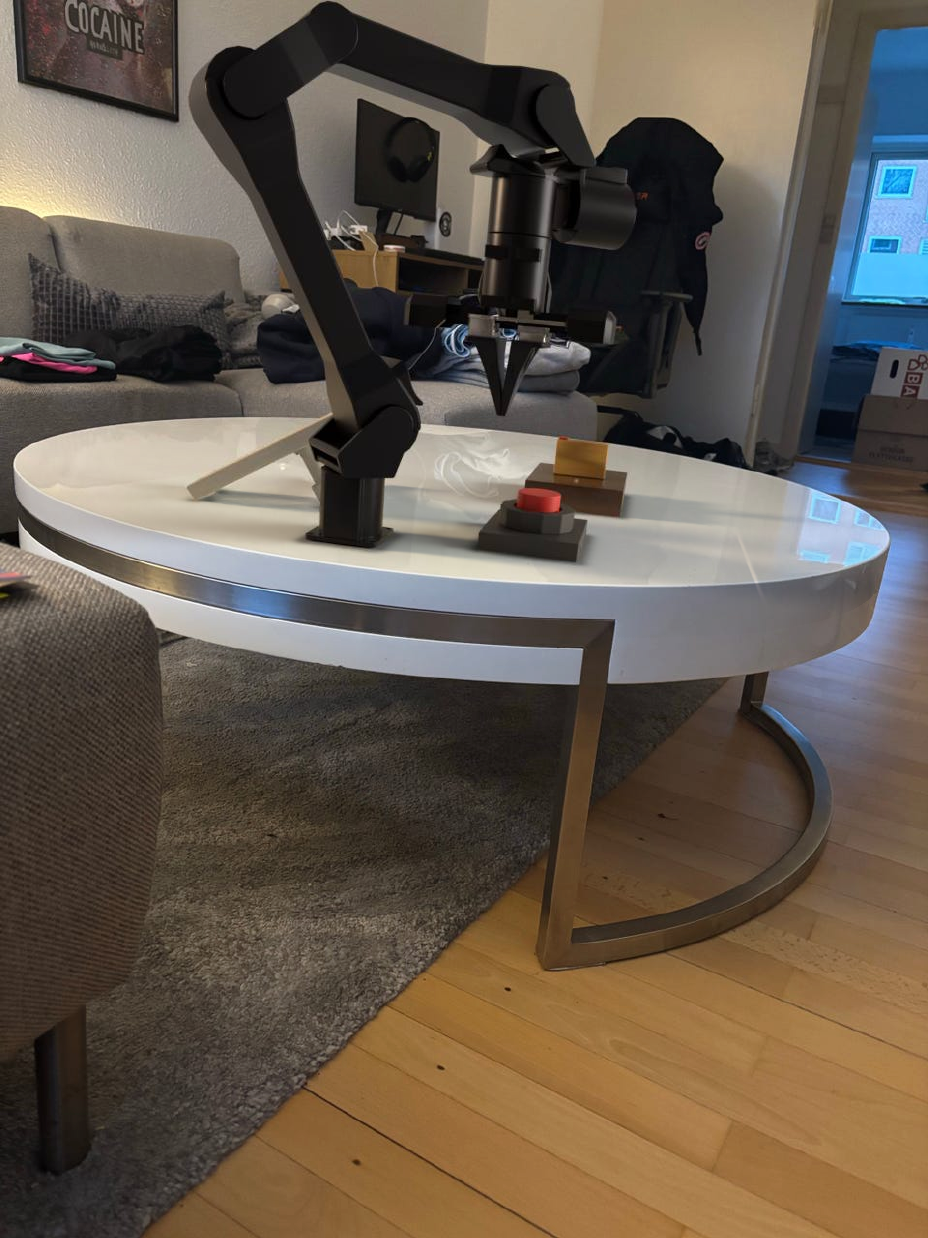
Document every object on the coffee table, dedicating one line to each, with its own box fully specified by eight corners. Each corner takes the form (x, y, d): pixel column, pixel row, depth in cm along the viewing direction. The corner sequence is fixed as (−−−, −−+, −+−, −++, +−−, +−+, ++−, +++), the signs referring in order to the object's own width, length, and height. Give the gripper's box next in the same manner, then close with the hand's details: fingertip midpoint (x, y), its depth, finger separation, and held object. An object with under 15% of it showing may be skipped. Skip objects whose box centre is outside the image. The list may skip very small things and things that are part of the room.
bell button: (556, 517, 84) (558, 498, 83) (513, 512, 85) (515, 493, 84) (560, 509, 88) (562, 491, 87) (519, 504, 88) (521, 486, 88)
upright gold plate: (604, 477, 108) (609, 441, 107) (604, 479, 107) (608, 442, 106) (554, 471, 109) (558, 435, 108) (553, 473, 108) (557, 437, 107)
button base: (576, 562, 81) (581, 524, 80) (477, 549, 83) (480, 511, 82) (585, 536, 92) (589, 501, 90) (497, 525, 93) (500, 491, 92)
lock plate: (620, 517, 102) (623, 489, 101) (522, 505, 104) (525, 478, 103) (624, 496, 115) (627, 470, 114) (537, 485, 117) (540, 461, 116)
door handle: (225, 557, 94) (397, 475, 90) (185, 486, 92) (360, 400, 88) (269, 517, 111) (416, 447, 107) (236, 456, 108) (385, 382, 105)
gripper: (629, 252, 87) (607, 419, 92) (439, 238, 90) (427, 399, 95) (622, 241, 76) (597, 430, 81) (408, 225, 80) (396, 407, 85)
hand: (501, 415), depth 86 cm, fingers closed
